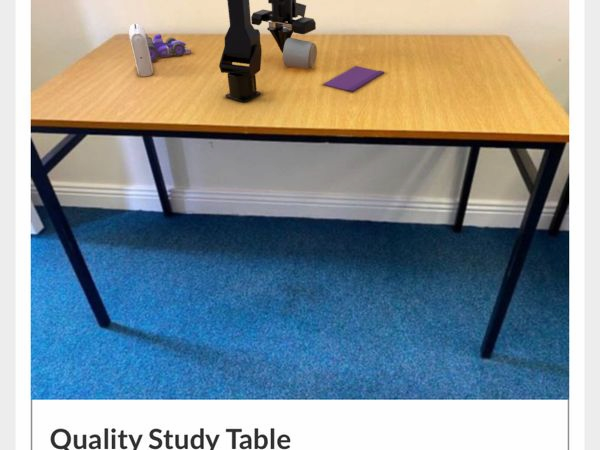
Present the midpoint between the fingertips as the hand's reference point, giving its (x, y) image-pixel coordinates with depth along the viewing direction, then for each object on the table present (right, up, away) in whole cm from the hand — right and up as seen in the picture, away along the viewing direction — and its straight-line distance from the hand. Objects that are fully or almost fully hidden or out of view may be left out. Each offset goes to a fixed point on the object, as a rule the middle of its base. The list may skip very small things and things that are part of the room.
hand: (284, 52), depth 136 cm
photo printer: (-40, -6, -1) cm, 40 cm away
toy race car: (-37, +3, +9) cm, 38 cm away
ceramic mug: (+5, -4, -1) cm, 7 cm away
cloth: (+19, -11, -10) cm, 24 cm away
